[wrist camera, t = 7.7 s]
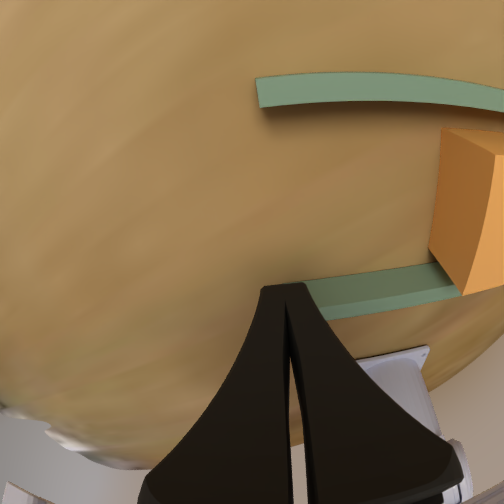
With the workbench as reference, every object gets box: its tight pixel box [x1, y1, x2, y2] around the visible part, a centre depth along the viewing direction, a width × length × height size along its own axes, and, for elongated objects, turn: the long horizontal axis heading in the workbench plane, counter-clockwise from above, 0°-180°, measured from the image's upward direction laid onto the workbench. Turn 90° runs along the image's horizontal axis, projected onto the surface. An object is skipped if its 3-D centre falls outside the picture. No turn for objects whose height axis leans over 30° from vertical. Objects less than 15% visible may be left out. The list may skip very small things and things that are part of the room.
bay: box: [255, 72, 504, 321], centre depth 12 cm, size 14×24×6 cm, turn 98°
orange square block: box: [428, 128, 504, 296], centre depth 13 cm, size 8×8×5 cm
